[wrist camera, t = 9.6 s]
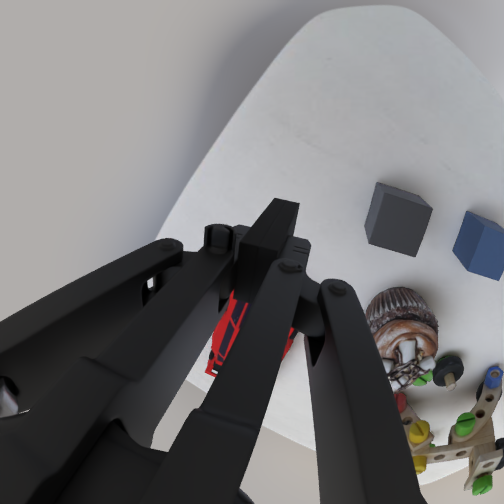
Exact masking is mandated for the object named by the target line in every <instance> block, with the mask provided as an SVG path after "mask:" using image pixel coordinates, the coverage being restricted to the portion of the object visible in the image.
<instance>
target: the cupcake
mask: <svg viewBox="0 0 504 504" xmlns="http://www.w3.org/2000/svg"><path fill="white" fill-rule="evenodd" d="M365 317H366V319H367V322H368V324H369V327H370V329H371V332H372V334H373V337H374V340H375V342H376V345H377V348H378V350H379V353H380V356H381V359H382V361H383V364H384V367H385V370H386V373H387V376H388V378H389V380H390V381H391V384H392V387H393V388H394V389H398V391H400V390H402V389H405V388H407V387H408V386H410V385H411V384H413V383H414V382H415V381H416V380H417V379H418V378H419V377H420V376H423V375H426V374H428V373H429V371H430V370H432V369H433V368H435V366H436V362H435V360H434V358H435V356H436V353H437V350H438V327H439V326H438V324H437V323H438V321H437V320H436V318H435V315H434V314H433V312H432V311H431V309H430V308H429V307H428V305H427V304H426V303H425V301H424V300H423V299H422V297H421V296H419V295H418V294H417V293H416V292H414V291H413V290H411V289H407V288H404V287H400V288H391V289H387V290H386V291H384V292H382V293H379V294H378V295H377V296H376V297H375V298H374V299H373V300H372V301H371V304H370V305H369V306H368V308H367V310H366V316H365ZM409 382H410V383H409ZM408 383H409V384H408Z"/></svg>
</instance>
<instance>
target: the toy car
mask: <svg viewBox="0 0 504 504" xmlns="http://www.w3.org/2000/svg"><path fill="white" fill-rule="evenodd" d="M233 293H234V290H233V291H232V293H231V295H230V302H229V306H228V308H227V309H226V311H225V313H224V314H223V316H222V318H221V319H220V321H219V323H218V325H217V326H216V328H215V330H214V332H213V336H212V346H211V349H212V350H211V352H210V354H209V360H208V366H207V368H206V370H205V373H207V374H209V375H211V376H214V377H216V375H217V374H215V373H213V372H211V371H212V369H213V370H215V371H217V372H219V370H220V368H221V366H222V364H223V362H224V360H225V358H226V356H227V354H228V352H229V350H230V348H231V346H232V344H233V342H234V340H235V338H236V336H237V334H238V332H239V330H240V328H241V326H242V324H243V322H244V320H245V318H246V316H247V313H248V311H249V309H250V307H251V305H252V304H249V303H245V302H242V301H238V300H235V299H233ZM297 333H298V331H297V330H296V329H294V328H292V327H291V329H290V333H289V336H288V340H287V344H286V347H285V351H284V354H283V357H282V360H283V358H284V357H285V355H286V353H287V352H288V350H289V348H290V347H291V345H292V343H293V339H294V338H295V336H296V335H297Z"/></svg>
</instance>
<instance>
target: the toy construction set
mask: <svg viewBox="0 0 504 504" xmlns="http://www.w3.org/2000/svg"><path fill="white" fill-rule="evenodd" d="M463 371H464V366H463V363H462V361H461V359H460V358H459V357H456V356H446V357H445V358H444V359H443V358H441V359H440V360H439V361H438V363H437V364H436V366H435V368H433V371H432V370H430V371H429V373H428V374H426V375H423V376H420V377H419V378H418V379H417V380H416V381H415V382H414V383H413V385H415V386H423V385H425V384H427V381H429V382H430V381H431V380H432V378H433V381H434V383H435V384H436V385H437V386H442V387H443V386H446V388H447V391H452V390H454V388H455V387H456V384H455V383H456V381H458V380H459V379H460V377H461V376H462V375H463ZM503 373H504V372H503V370H501V369H500V368H499V367H498V366H496V367H492V368H489V370H488V372H487V375H486V378H485V381H484V382H483V383H482V384H481V385H480V386H479V388H478V390H477V392H476V399H477V404H476V405H475V406H474V408H473V409H472V410H471V411H470V412H467V413H463V414H462V415H460V416H459V417H458V419H457V423H456V424H455V425H453V426H452V427H451V430H450V433H449V437H448V445H443V446H437V447H435V444H431V441H433V439H434V435H433V434H432V433H431V432H430V426H429V423H428V422H426V421H425V420H421V419H420V418H419V417H418V416H417V415H416V413H415V412H414V411H413V410H412V408H411V407H410V406H409V405H408V404H407V400H406V396H405V395H404V394H403V393H399V394H397V393H395V394H394V396H395V400H396V403H397V406H398V409H399V412H400V416H401V419H402V422H403V426H404V429H405V432H406V436H407V440H408V443H409V447H410V451H411V454H412V458H413V462H414V466H415V470H416V474H421V473H422V472H423V471H425V470H426V464H430V463H438V462H444V461H450V460H456V459H462V458H467V457H469V477H468V479H467V481H466V483H465V485H464V491H465V490H470V489H472V493H473V495H478V494H479V493H480V494H484V493H486V492H488V491H489V490H491V489H492V475H491V474H492V473H493V471H495V470H498V469H501V468H503V467H504V438H500V439H497V440H496V442H495V436H494V428H493V421H492V417H491V416H492V413H493V412H494V410H495V408H496V405H497V403H498V401H499V400H500V397H501V395H502V376H503ZM411 421H412V422H411Z"/></svg>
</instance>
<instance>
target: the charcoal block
mask: <svg viewBox="0 0 504 504" xmlns="http://www.w3.org/2000/svg"><path fill="white" fill-rule="evenodd" d="M432 210H433V208H431V207H430V206H429V205H428V204H427V203H426V202H425V201H424V200H423V199H422V198H421V197H420V196H418V195H415V194H412V193H409V192H406V191H403V190H400V189H397V188H394V187H391V186H388V185H385V184H381V183H378V182H377V183H376V187H375V191H374V194H373V198H372V201H371V205H370V208H369V212H368V215H367V219H366V222H365V225H364V226H365V230H366V234H367V239H368V243H369V244H371V245H375V246H378V247H382V248H385V249H389V250H392V251H395V252H399V253H402V254H405V255H409V256H412V257H416V255H417V252H418V250H419V247H420V244H421V242H422V239H423V236H424V234H425V231H426V228H427V225H428V222H429V219H430V216H431V213H432Z"/></svg>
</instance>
